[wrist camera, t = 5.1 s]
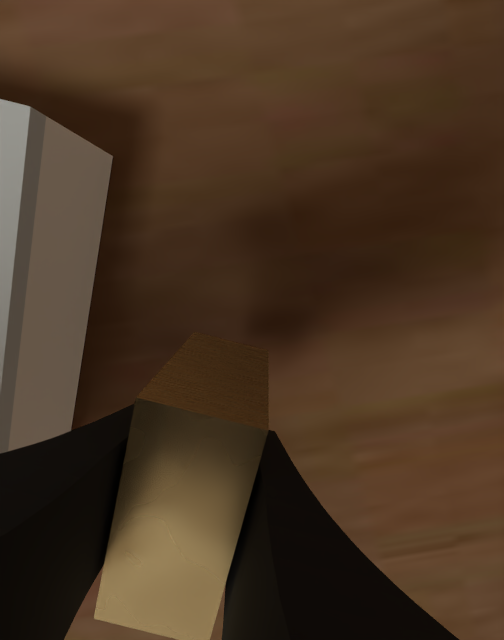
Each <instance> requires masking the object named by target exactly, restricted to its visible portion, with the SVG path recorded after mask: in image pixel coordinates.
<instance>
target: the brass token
mask: <svg viewBox="0 0 504 640" xmlns="http://www.w3.org/2000/svg"><path fill="white" fill-rule="evenodd" d="M268 431H269V416H268V350H265V349H261V348H257V347H253V346H249V345H245V344H241V343H237V342H233V341H229V340H225V339H221V338H217V337H213V336H209V335H205V334H201V333H197V332H194V333H193V334H192V335H191V337H190V338H189V339H188V340H187V341H186V342H185V343H184V344H183V345H182V347H181V348H180V349H179V350H178V351H177V352H176V353H175V354H174V356H173V357H172V358H171V359H170V360H169V361H168V362H167V363H166V364H165V366H164V367H163V368H162V369H161V370H160V371H159V372H158V373H157V375H156V376H155V377H154V378H153V379H152V380H151V381H150V382H149V383H148V385H147V386H146V387H145V388H144V389H143V390H142V391H141V392H140V394H139V395H138V396H137V397H136V400H135V405H134V411H133V416H132V421H131V426H130V432H129V437H128V442H127V447H126V453H125V458H124V463H123V468H122V473H121V479H120V484H119V489H118V494H117V500H116V505H115V510H114V515H113V521H112V526H111V531H110V536H109V542H108V547H107V552H106V557H105V563H104V568H103V573H102V578H101V583H100V589H99V594H98V599H97V604H96V610H95V615H94V619H98V620H102V621H106V622H110V623H114V624H118V625H122V626H126V627H130V628H134V629H138V630H142V631H146V632H150V633H154V634H158V635H162V636H166V637H170V638H174V639H178V640H210V637H211V633H212V629H213V626H214V622H215V619H216V615H217V612H218V608H219V605H220V601H221V598H222V594H223V590H224V587H225V583H226V580H227V576H228V573H229V569H230V566H231V562H232V558H233V555H234V551H235V548H236V544H237V541H238V537H239V534H240V530H241V527H242V523H243V519H244V516H245V512H246V509H247V505H248V502H249V498H250V495H251V491H252V488H253V484H254V480H255V477H256V473H257V470H258V466H259V463H260V459H261V456H262V452H263V448H264V445H265V441H266V438H267V434H268Z"/></svg>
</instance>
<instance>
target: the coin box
mask: <svg viewBox="0 0 504 640" xmlns="http://www.w3.org/2000/svg"><path fill="white" fill-rule="evenodd" d="M112 160H113V156H112V155H110V154H108V153H107V152H105V151H103V150H102V149H100V148H98V147H97V146H95V145H93V144H92V143H90V142H88V141H87V140H85V139H83V138H82V137H80V136H78V135H77V134H75V133H73V132H72V131H70V130H68V129H67V128H65V127H63V126H62V125H60V124H59V123H57V122H55V121H54V120H52V119H50V118H49V117H47V116H45V115H44V114H42V113H40V112H39V111H37V110H35V109H34V108H32V107H30V106H26V105H22V104H18V103H14V102H10V101H6V100H2V99H0V453H4V452H8V451H11V450H15V449H18V448H22V447H25V446H29V445H32V444H35V443H38V442H42V441H45V440H48V439H51V438H53V437H56V436H59V435H61V434H64V433H67V432H69V431H71V427H72V421H73V414H74V408H75V401H76V395H77V388H78V381H79V375H80V368H81V362H82V355H83V349H84V342H85V336H86V329H87V323H88V316H89V310H90V303H91V297H92V290H93V284H94V277H95V271H96V264H97V258H98V251H99V245H100V238H101V231H102V225H103V218H104V212H105V205H106V199H107V192H108V186H109V179H110V173H111V166H112Z"/></svg>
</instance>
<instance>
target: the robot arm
mask: <svg viewBox="0 0 504 640" xmlns="http://www.w3.org/2000/svg"><path fill="white" fill-rule="evenodd" d="M134 405H135V404H133V405H131V406H128V407H126V408H124V409H122V410H120V411H118V412H115V413H113V414H111V415H109V416H106V417H104V418H102V419H99V420H97V421H95V422H93V423H90V424H88V425H85V426H82V427H80V428H77V429H74V430H72V431H69V432H67V433H64V434H61V435H59V436H56V437H53V438H51V439H48V440H45V441H42V442H38V443H35V444H32V445H29V446H25V447H22V448H18V449H15V450H11V451H8V452H4V453H0V640H64V638H65V636H66V634H67V632H68V630H69V628H70V625H71V623H72V621H73V619H74V617H75V615H76V613H77V611H78V609H79V607H80V606H81V604H82V602H83V600H84V598H85V596H86V594H87V592H88V591H89V589H90V587H91V585H92V584H93V582H94V580H95V579H96V577H97V575H98V573H99V572H100V570H101V568H102V567H103V565H104V563H105V557H106V552H107V547H108V542H109V536H110V531H111V526H112V521H113V515H114V510H115V505H116V500H117V494H118V489H119V484H120V479H121V473H122V468H123V463H124V458H125V453H126V447H127V442H128V437H129V432H130V426H131V421H132V416H133V411H134ZM222 640H459V639H458V638H457V637H455V636H454V635H453V634H452V633H450V632H449V631H448V630H447V629H446V628H444V627H443V626H442V625H441V624H440V623H438V622H437V621H436V620H435V619H434V618H433V617H431V616H430V615H429V614H428V613H427V612H425V611H424V610H423V609H422V608H421V607H420V606H418V605H417V604H416V603H415V602H414V601H413V600H412V599H410V598H409V597H408V596H407V595H406V594H405V593H404V592H403V591H402V590H400V589H399V588H398V587H397V586H396V585H395V584H394V583H393V582H392V581H391V580H390V579H389V578H388V577H387V576H386V575H385V574H384V573H383V572H381V571H380V570H379V569H378V568H377V567H376V566H375V565H374V564H373V563H372V562H371V561H370V560H369V559H368V558H367V557H366V556H365V555H364V554H363V553H362V552H361V551H360V549H359V548H358V547H357V546H356V545H355V544H354V543H353V542H352V541H351V540H350V539H349V537H348V536H347V535H346V534H345V533H344V532H343V531H342V529H341V528H340V527H339V526H338V525H337V524H336V523H335V521H334V520H333V519H332V518H331V517H330V515H329V514H328V513H327V512H326V510H325V509H324V508H323V506H322V505H321V504H320V502H319V501H318V500H317V498H316V497H315V496H314V494H313V493H312V491H311V490H310V489H309V487H308V486H307V484H306V483H305V481H304V480H303V478H302V477H301V475H300V474H299V472H298V471H297V469H296V467H295V466H294V464H293V462H292V461H291V459H290V457H289V456H288V454H287V452H286V450H285V448H284V447H283V445H282V443H281V441H280V440H279V438H278V436H277V434H276V433H275V431H271V430H269V431H268V434H267V438H266V441H265V445H264V448H263V452H262V456H261V459H260V463H259V466H258V470H257V473H256V477H255V480H254V484H253V488H252V491H251V495H250V498H249V502H248V505H247V509H246V512H245V516H244V519H243V523H242V527H241V530H240V534H239V537H238V541H237V544H236V548H235V551H234V555H233V558H232V562H231V566H230V569H229V573H228V576H227V580H226V588H225V605H224V621H223V633H222Z"/></svg>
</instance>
